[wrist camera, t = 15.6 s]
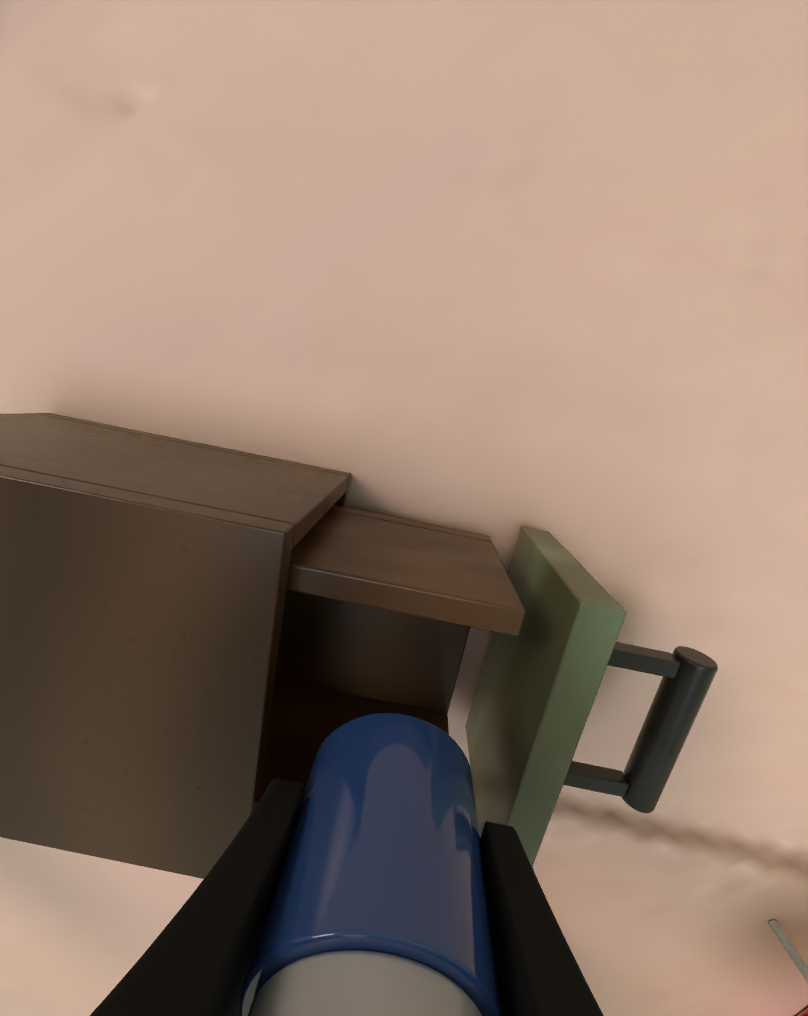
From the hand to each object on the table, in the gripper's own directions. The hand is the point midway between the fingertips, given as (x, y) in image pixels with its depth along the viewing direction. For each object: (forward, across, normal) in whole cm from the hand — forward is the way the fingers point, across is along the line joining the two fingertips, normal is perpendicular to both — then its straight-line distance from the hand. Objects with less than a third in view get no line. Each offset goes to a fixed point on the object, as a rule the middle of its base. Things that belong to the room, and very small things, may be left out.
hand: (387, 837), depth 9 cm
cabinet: (+10, +10, 0) cm, 15 cm away
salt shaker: (+1, 0, 0) cm, 1 cm away
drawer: (+9, -1, 0) cm, 10 cm away
